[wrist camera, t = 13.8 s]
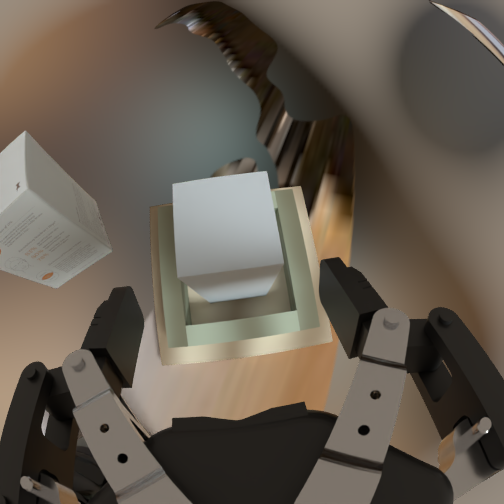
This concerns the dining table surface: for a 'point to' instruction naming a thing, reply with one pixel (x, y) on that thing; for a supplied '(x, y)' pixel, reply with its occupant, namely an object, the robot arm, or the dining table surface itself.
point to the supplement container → (86, 473)
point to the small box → (45, 218)
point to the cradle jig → (242, 310)
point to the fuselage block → (226, 236)
